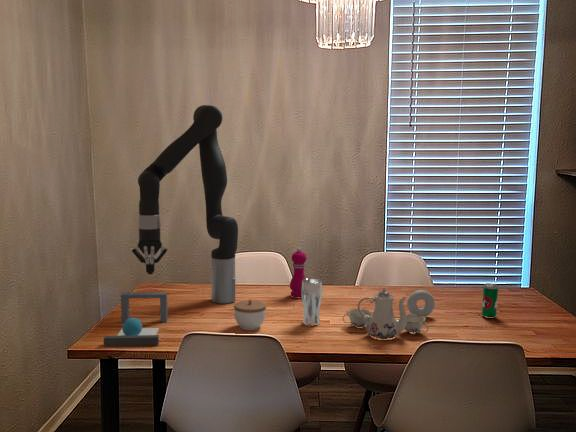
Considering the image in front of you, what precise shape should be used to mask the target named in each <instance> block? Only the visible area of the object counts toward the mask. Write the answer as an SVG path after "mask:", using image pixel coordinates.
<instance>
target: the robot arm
mask: <svg viewBox="0 0 576 432" xmlns="http://www.w3.org/2000/svg"><path fill="white" fill-rule="evenodd" d="M192 118H193V122H192V124H191V125H190V126H189V128H187V130H186V131H185V132H183V134H181V135H180V136H179V137H178V138H176V139H175V140H174V141H172V142H171V143H170V144H169V145H168V146H167V147H166V148H165V149H164V150H163V151H162V152H161V153H160V154H159V155H158V156H157V157H156V158H155V160H153V162H152V163H150V165H148V166H147V167H146V168H145V169H144V170H143V171H142V172H141V173H140V174H139V175H138V177H137V184H138V186H139V202H138V203H139V204H138V243H137V246H136V247H134V248H133V249H132V250H131V252H132V253H133V254H134V257H136V258H137V259H138V261H139V262H140V263H141V264H145V273H147V275H153V274H154V273H155V271H156V270H155V264H157V263H159V262H160V261H161V260H162V258H163V257H164V256H165V255H166V253H167V252H168V251H169V250H168V248H167V247H165V246H164V245H163V243H162V241H161V240H162V239H161V218H160V217H161V216H160V202H159V201H160V199H159V198H160V188H161V187H160V185H161V184H160V183H161V181H162V180H163V179H164V178H165V177H166V176H167V175H169V174H170V173H171V172H172V171H173V170H174V169H175V168H176V167H177V166H178V165H179V164H180V163H181V162H182V161H183V160H184V159H185V157H187V156H188V155H189V153H190V152H191V151H192V150H193V149H194V148H195V147H196V146H197V145H198V148H199V159H200V160H199V161H200V167H201V170H200V171H201V178H202V183H203V192H204V202H205V216H206V217H205V222H206V225H205V226H206V230H207V234H208V236H209V237H210V238H212V239H215V240H219V241H218V242H219V243H218V247H216V248H214V249H212V250H211V254H210V257H211V260H210V261H211V262H210V263H211V264H210V265H211V268H210V269H211V270H210V271H211V275H210V276H211V302H213V303H215V304H230V303H236V252H237V251H238V244H239V242H238V240H239V239H238V238H239V226H238V222H237V220H236V218H234V217H231V216H226V215H225V216H224V215H223V211H222V201H223V196H224V194H225V192H226V188H227V184H228V174H227V167H226V162H225V159H224V157H223V153H222V151H221V148H220V145H219V141H218V131H217V130H218V129H219V127H220V126H221V125H222V122H223V113H222V111H221V110H220V108H218V107H217V106H215V105H212V104H211V105H210V104H207V105H206V104H202V105H200V106H198V107H196V109H195V111H194V113H193V117H192ZM158 252H160V254H159V255H158V256H157V258H156V255H157V253H158ZM141 253H142V254H143V255H142V254H141Z"/></svg>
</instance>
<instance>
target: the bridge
mask: <svg viewBox="0 0 576 432" xmlns="http://www.w3.org/2000/svg"><path fill="white" fill-rule="evenodd" d="M130 299H159V305H160V306H159V307H160V308H159V310H160V311H159V314H160V318H159V319H160V320H159V321H160V323H167V321H168V313H169V312H168V292H167V291H161V292H158V291H157V292H156V291H155V292H154V291H152V292H149V291H146V292H144V291H143V292H137V291H136V292H135V291H134V292H122V293H121V294H120V306H121V307H120V311H121V323H122V324H123V323H124V322H125V321H126V320H127V319H129V318H130Z"/></svg>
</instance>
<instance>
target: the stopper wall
mask: <svg viewBox="0 0 576 432" xmlns="http://www.w3.org/2000/svg"><path fill="white" fill-rule="evenodd" d="M159 344H160V335H159V334H156V335H132V336H117V335H104V337H103V347H125V346H126V347H128V346H129V347H136V346H138V347H139V346H142V347H143V346H144V347H145V346H159Z"/></svg>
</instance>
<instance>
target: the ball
mask: <svg viewBox="0 0 576 432" xmlns="http://www.w3.org/2000/svg"><path fill="white" fill-rule="evenodd" d="M142 328H143V324H142V322H141V321H140V320H139V319H138V318H136V317H129V319H127V320H126V321H125V322H124V323H122V326H121V329H122V330H123V333H124V334H125V335H126V336H132V335H139V334H140V332H141V330H142Z"/></svg>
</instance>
